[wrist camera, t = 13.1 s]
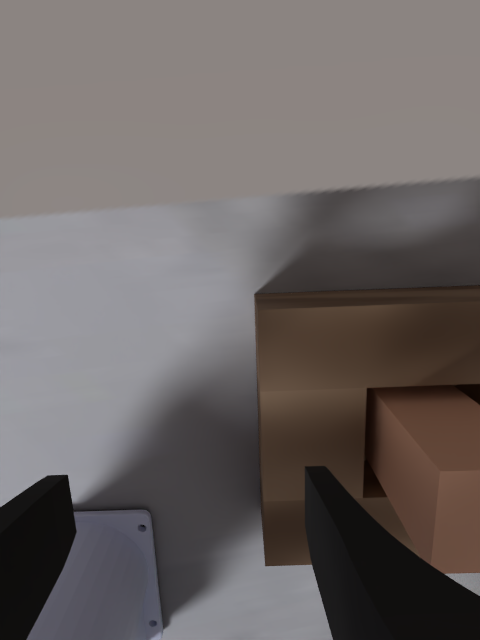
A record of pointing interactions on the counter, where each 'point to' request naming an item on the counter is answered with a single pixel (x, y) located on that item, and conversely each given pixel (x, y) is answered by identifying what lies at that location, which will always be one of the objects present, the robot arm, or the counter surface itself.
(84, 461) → the counter surface
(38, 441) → the counter surface
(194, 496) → the counter surface
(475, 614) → the robot arm
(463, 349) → the socket block
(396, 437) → the peg
